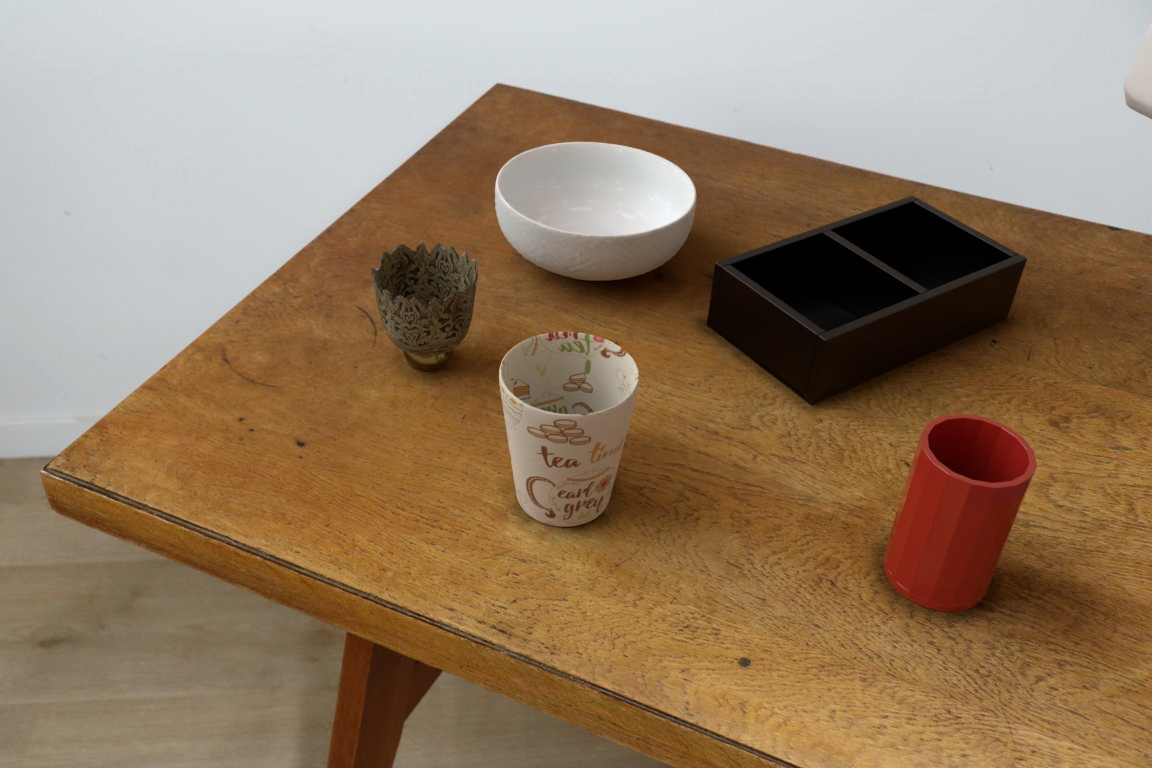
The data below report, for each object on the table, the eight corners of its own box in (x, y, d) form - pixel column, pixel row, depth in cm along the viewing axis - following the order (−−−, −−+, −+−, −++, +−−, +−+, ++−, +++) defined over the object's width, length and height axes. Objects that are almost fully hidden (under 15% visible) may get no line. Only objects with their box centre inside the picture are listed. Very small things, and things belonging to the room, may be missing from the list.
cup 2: (930, 523, 71) (970, 401, 65) (1008, 585, 67) (1059, 461, 61) (861, 560, 68) (898, 436, 62) (939, 627, 64) (986, 502, 58)
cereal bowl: (684, 321, 88) (694, 244, 84) (478, 301, 89) (477, 223, 85) (691, 218, 102) (700, 147, 97) (512, 201, 103) (512, 130, 98)
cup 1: (457, 399, 79) (455, 305, 74) (362, 378, 80) (353, 285, 76) (492, 341, 85) (492, 251, 80) (402, 323, 86) (396, 233, 81)
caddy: (897, 253, 98) (912, 194, 95) (1007, 319, 91) (1028, 258, 87) (706, 324, 88) (714, 261, 84) (811, 405, 80) (826, 340, 77)
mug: (481, 526, 69) (480, 400, 63) (535, 405, 79) (538, 286, 73) (612, 553, 68) (624, 427, 62) (650, 427, 77) (663, 307, 71)
